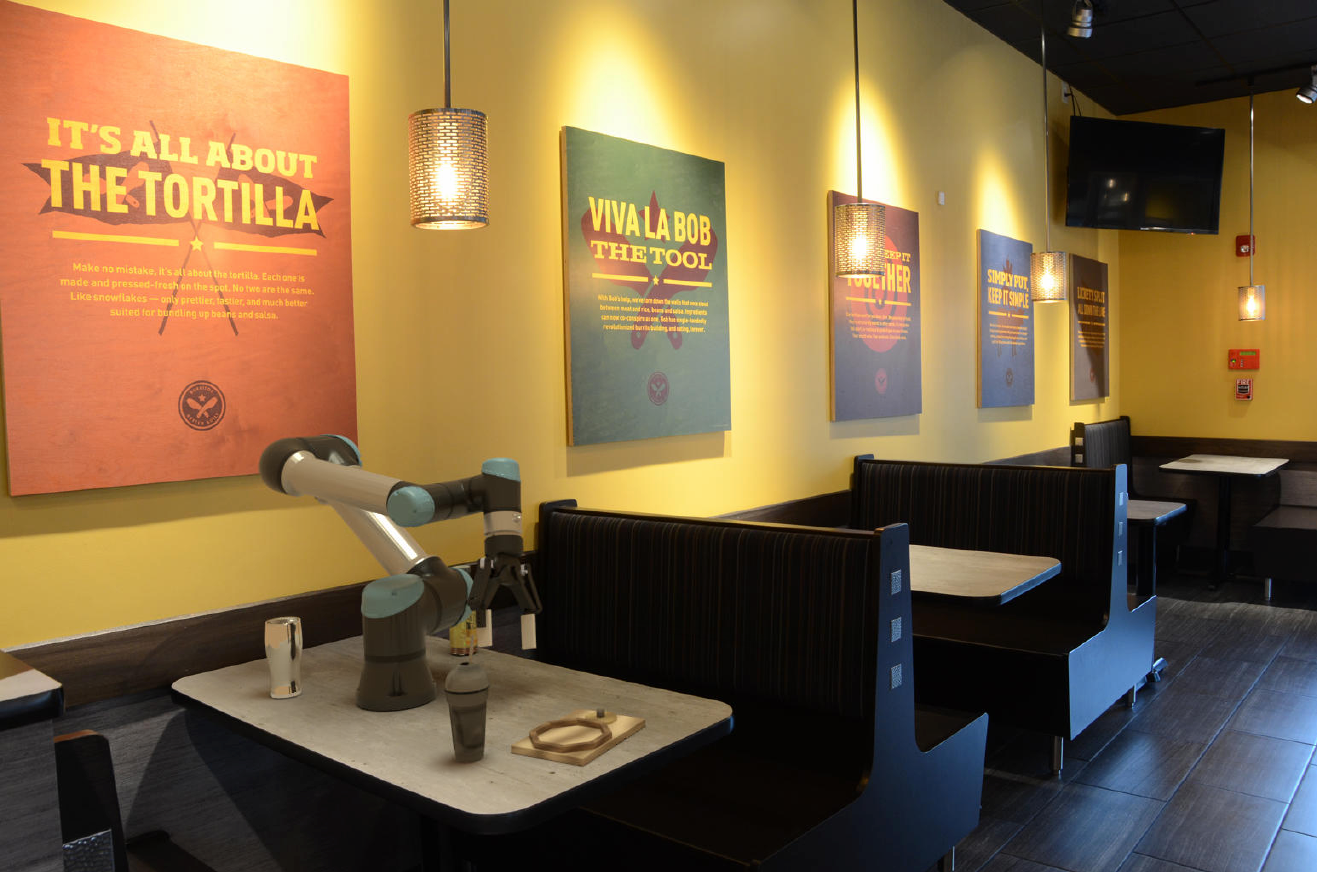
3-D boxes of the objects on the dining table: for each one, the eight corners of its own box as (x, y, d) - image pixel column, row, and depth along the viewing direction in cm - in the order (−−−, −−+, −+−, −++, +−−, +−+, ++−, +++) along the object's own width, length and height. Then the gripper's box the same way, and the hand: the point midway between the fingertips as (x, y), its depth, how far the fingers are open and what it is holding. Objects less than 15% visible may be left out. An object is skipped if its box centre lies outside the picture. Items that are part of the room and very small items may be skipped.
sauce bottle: (471, 657, 218) (468, 569, 217) (445, 656, 219) (442, 569, 218) (482, 649, 224) (479, 564, 223) (457, 648, 225) (454, 564, 224)
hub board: (511, 752, 159) (510, 734, 159) (578, 715, 176) (578, 698, 176) (583, 766, 152) (582, 747, 152) (645, 725, 169) (644, 709, 169)
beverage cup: (449, 750, 160) (445, 631, 160) (494, 747, 161) (489, 629, 160) (443, 767, 153) (439, 642, 152) (490, 764, 154) (485, 640, 153)
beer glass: (259, 698, 192) (256, 623, 191) (285, 687, 198) (281, 615, 197) (287, 701, 189) (283, 625, 188) (312, 691, 196) (308, 617, 195)
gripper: (477, 524, 176) (481, 642, 170) (555, 541, 198) (561, 647, 191) (445, 531, 180) (448, 647, 173) (526, 547, 201) (530, 651, 195)
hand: (507, 647), depth 182 cm, fingers open, 13 cm apart
